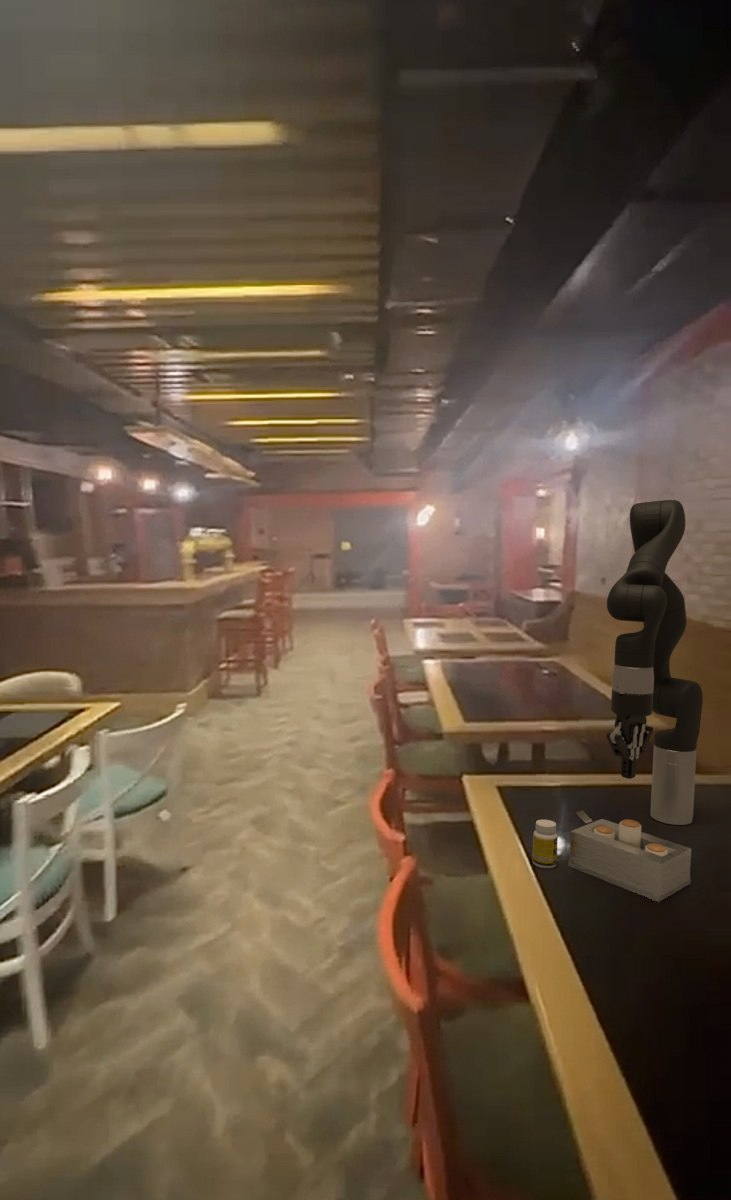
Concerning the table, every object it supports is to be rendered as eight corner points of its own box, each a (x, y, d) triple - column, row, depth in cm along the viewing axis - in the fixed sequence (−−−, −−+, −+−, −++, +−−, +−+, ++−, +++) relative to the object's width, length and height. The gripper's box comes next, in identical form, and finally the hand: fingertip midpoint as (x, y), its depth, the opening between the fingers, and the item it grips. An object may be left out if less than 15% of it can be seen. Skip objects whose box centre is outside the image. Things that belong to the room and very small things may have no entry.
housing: (601, 850, 155) (603, 818, 154) (690, 883, 140) (692, 847, 140) (568, 865, 147) (569, 831, 147) (658, 902, 133) (660, 864, 132)
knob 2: (625, 846, 146) (626, 817, 146) (643, 853, 143) (645, 823, 143) (614, 851, 144) (615, 821, 143) (632, 858, 141) (634, 828, 140)
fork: (637, 842, 160) (637, 833, 160) (575, 820, 173) (575, 812, 173) (644, 840, 162) (644, 831, 162) (582, 818, 174) (582, 810, 174)
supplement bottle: (557, 870, 145) (558, 828, 144) (532, 867, 146) (534, 826, 145) (555, 860, 150) (557, 819, 149) (532, 857, 151) (533, 817, 150)
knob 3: (650, 871, 142) (652, 840, 142) (670, 878, 139) (672, 847, 139) (639, 876, 140) (641, 845, 139) (659, 884, 137) (661, 853, 136)
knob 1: (599, 852, 151) (601, 823, 150) (617, 858, 148) (618, 829, 147) (588, 857, 148) (589, 828, 148) (606, 864, 145) (607, 834, 145)
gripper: (633, 682, 149) (629, 766, 150) (595, 689, 140) (591, 778, 142) (669, 688, 143) (664, 776, 144) (631, 695, 134) (626, 789, 136)
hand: (628, 777), depth 143 cm, fingers closed
